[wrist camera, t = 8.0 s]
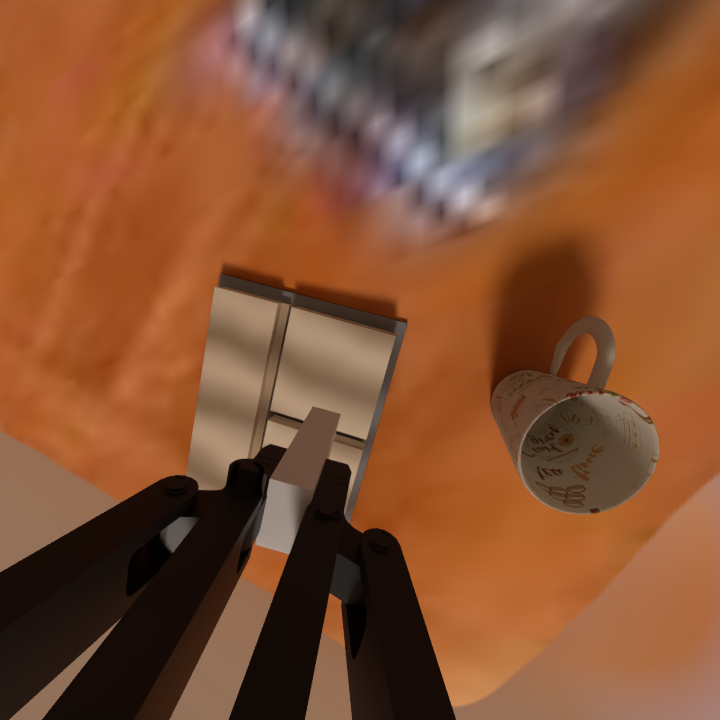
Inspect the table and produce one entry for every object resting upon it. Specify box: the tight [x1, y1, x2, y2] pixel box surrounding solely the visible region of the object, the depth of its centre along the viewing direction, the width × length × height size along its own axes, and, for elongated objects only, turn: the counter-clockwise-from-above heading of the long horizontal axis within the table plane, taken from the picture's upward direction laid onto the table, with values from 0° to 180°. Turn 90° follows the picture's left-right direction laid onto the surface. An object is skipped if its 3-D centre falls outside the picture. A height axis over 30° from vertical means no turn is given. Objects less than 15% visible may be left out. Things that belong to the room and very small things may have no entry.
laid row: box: [186, 274, 407, 523], centre depth 32 cm, size 22×17×2 cm
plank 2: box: [262, 415, 365, 515], centre depth 32 cm, size 10×9×2 cm
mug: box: [491, 316, 659, 514], centre depth 25 cm, size 8×13×10 cm, turn 168°
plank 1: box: [270, 306, 396, 440], centre depth 30 cm, size 10×9×2 cm
